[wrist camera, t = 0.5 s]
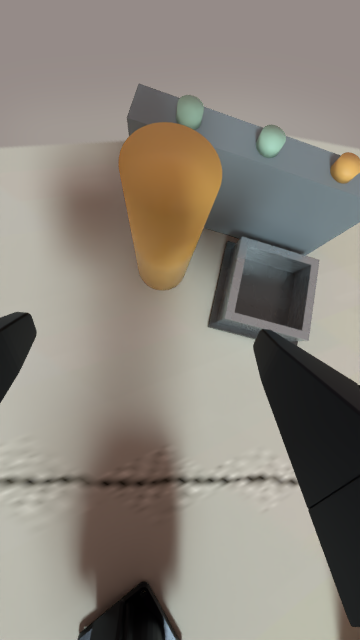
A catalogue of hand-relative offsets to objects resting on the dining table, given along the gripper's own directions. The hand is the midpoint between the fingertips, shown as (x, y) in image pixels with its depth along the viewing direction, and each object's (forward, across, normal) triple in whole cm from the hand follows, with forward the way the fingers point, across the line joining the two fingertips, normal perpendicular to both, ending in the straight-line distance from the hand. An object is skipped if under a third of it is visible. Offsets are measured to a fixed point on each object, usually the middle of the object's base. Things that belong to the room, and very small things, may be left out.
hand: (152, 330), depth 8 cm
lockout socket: (+14, -12, +4) cm, 18 cm away
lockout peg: (+15, 0, +3) cm, 15 cm away
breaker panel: (+19, -7, -2) cm, 21 cm away
